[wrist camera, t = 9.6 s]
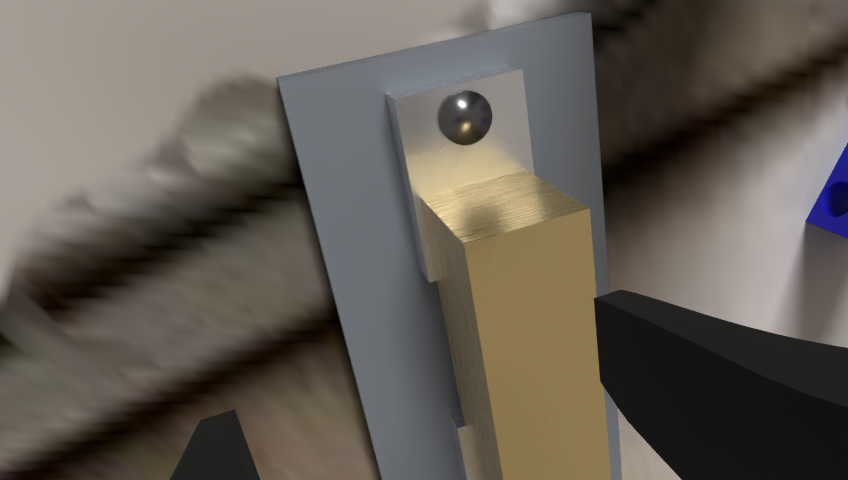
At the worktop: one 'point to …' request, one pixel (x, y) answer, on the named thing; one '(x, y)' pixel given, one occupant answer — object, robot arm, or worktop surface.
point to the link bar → (522, 327)
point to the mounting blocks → (458, 157)
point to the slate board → (390, 224)
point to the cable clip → (833, 200)
